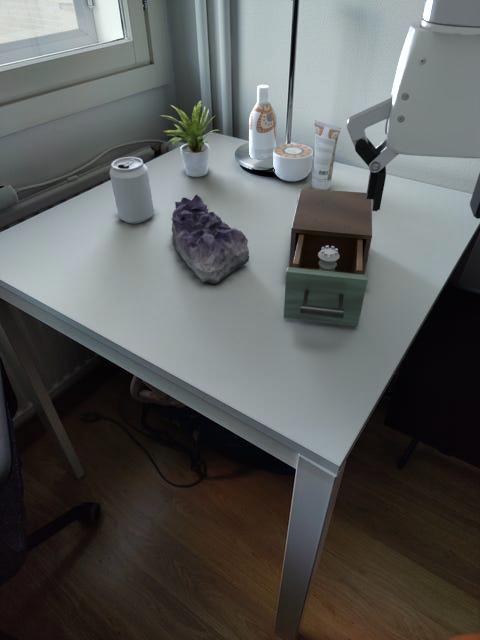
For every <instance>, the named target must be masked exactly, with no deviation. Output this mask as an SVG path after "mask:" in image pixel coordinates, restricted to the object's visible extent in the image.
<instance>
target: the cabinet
mask: <svg viewBox="0 0 480 640" xmlns="http://www.w3.org/2000/svg"><path fill="white" fill-rule="evenodd" d="M366 195H367V192H362V191H361V192H359V191H346V190H333V189H328V190H321V189H314V188H307V187H306V188H305V187H301V188H300V190H299V194H298V199H297V204H296V207H295V212H294V216H293V220H292V224H291V228H290V229H291V231H290V245H289V260H288V267H293V262H294V257H295V252H296V247H297V243H298V238H299V233H304V234H315V235H326V236H337V237H348V238H359V239H363V251H362V274H361V275H366V270H367V263H368V260H369V255H370V249H371V244H372V239H373V211H372V199H366Z"/></svg>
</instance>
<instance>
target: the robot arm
mask: <svg viewBox="0 0 480 640" xmlns="http://www.w3.org/2000/svg"><path fill="white" fill-rule="evenodd" d="M382 121H385V125H384V126H385V127H384V133H385V135H386V137H385V138H384V139H383V140H382V141H381V142H380V143H379V144H378V145H376V146H375V145H374V144H373V143H372V142H371V140H370V139H369V138H368V137H367V134H366V131H365V130H366V129H367V128H369V127H372V126H373V125H375V124H378V123H380V122H382ZM346 129H347V132H348V135H349V137H350V139H351V142H352V144H353V146H354V150H355V153H356V154H357V155H358V156H359V157H360V158H361V160H362V161H363V162H364V163H365V165H367V167H368V169H369V176H368V181H367V188H366V193H367V195H366V199H372V212H378V211H380V210H381V205H382V200H383V193H384V188H385V183H386V178H387V165H388V164H389V163H390V162H392V161H393V160H394V159H396V158H397V156H398V155H403V156H414V157H416V156H417V157H434V158H454V159H456V158H457V159H480V0H425V1H424V6H423V11H422V16H421V21H415V22H412V23H411V24H410V26H409V28H408V31H407V35H406V38H405V40H404V43H403V46H402V50H401V52H400V55H399V60H398V64H397V68H396V72H395V76H394V80H393V84H392V89H391V94H390V98H388V99H385V100H383V101H381V102H379V103H377V104H375V105H372V106H370V107H368V108H366V109H364V110H362V111H359V112H357V113H355V114H353V115H351V116H349V117H348V119H347V121H346ZM469 207H470V210H471V212H472V215H473V217H474V218H475V219H477V220H478V219H479V220H480V172H479V174H478V177H477V180H476V182H475V186H474V189H473V192H472V195H471V199H470V201H469Z"/></svg>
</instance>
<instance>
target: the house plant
mask: <svg viewBox="0 0 480 640" xmlns="http://www.w3.org/2000/svg"><path fill="white" fill-rule="evenodd" d="M202 105H203V103H202V100H199V101H198V102H197V105H196V104H195V105H194V107H193V110H192V113H191V119H190V117H189V116H188V115H187V114H186V113H185V111H183V110H182V109H179V108H178V107H176V106H174V105H172V104H170V107H172V108H174V109H175V110H176V112H177V114H178V115H179V117H180V119H181V120H182V121H180V120H178V119H176V118H175V117H173V116H170V115H165V118H166V117H167V118H169V120H171V121H173V122H174V123H173V125H174V126H175V127H176V128H177V129H168V130H167V129H166V130H163V132H164V133H169V134H167V136H171V134H172V136H173V137H172V138H171V139H170V140H169V141H168V143H170V142H172V143H171V144H172V145H171V146H173V145H174V144H176V143H178V142H179V141H182V143H183V145H181V146H180V153H181V158H182V162H183V165H184V168H185V173H186V175H187V176H188V177H193V178H200V177H203V176H206V175H207V174H208V168H209V157H210V148H211V147H210V145H209V144H208V141H204V140H205V138H206V137H207V136H208V135H209V134H210V133H212V132H216V131H217V132H218V131H219V132H220V130H219V129H212V130H210V131H208V132H207V133H206V134H205V135H204V133H205V130H206V128H207V127H208V126H209V124H210V123H211V122H212V120H213V119H214V118H215V117H216V115H217V114H216V115H214V116H213V117H212V118H210V119H209V120H208V115H209V113H210V109H208V110H207V112H206V106H204V107H203V110H202V113H201V112H200V111H201V107H202ZM200 113H201V117H200ZM160 117H164V115H162V114H161V115H160ZM199 119H200V120H199ZM207 120H208V121H207ZM176 122H178V124H179V125H178V124H177V123H176ZM206 122H207V123H206ZM183 129H184V130H185V131H184V130H183ZM203 135H204V137H203ZM177 136H180V137H177ZM182 137H183V138H182ZM183 141H184V142H183Z"/></svg>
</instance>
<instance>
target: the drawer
mask: <svg viewBox="0 0 480 640" xmlns="http://www.w3.org/2000/svg"><path fill="white" fill-rule="evenodd" d="M328 245H329V248H331V246H334V247H335V248H337V249H338V253H339V255H340V256H339V259H338V260H336V263H337V266H336V267H335V272H332V271H322V270H319V267H320V265H319V261H320V258H319V256H318V253H319V252H320V251H321V248H322V247H324V249H325V246H328ZM335 248H334V249H335ZM362 251H363V239H359V238H348V237H337V236H326V235H315V234H304V233H299V238H298V243H297V247H296V252H295V257H294V262H293V267H289V266H287V267H286V272H285V288H284V303H283V304H284V305H283V318H285V319H291V320H292V319H293V320H300V321H310V322H317V323H318V322H319V323H325V324H327V323H328V324H336V325H344V326H350V327H351V326H353V327H359V323H360V318H361V315H362V308H363V304H364V298H365V294H366V289H367V284H368V274H365V275H361V274H362Z"/></svg>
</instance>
